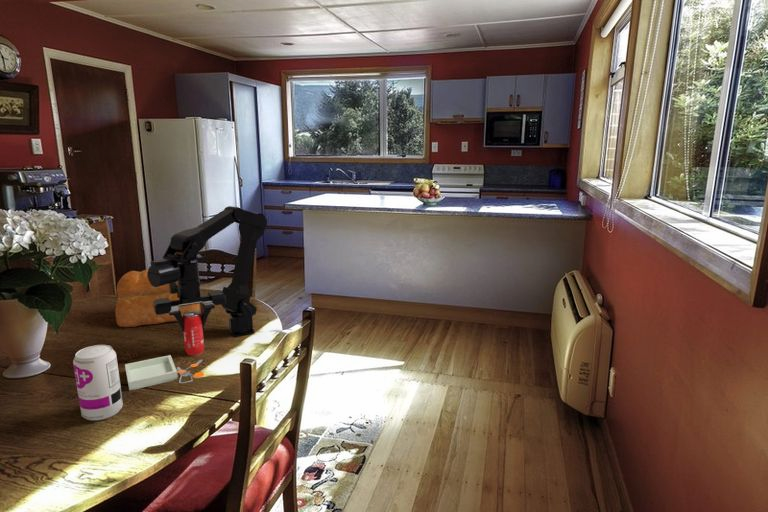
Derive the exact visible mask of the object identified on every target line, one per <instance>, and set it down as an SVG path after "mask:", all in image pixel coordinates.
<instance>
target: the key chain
mask: <svg viewBox="0 0 768 512" xmlns="http://www.w3.org/2000/svg"><path fill="white" fill-rule="evenodd" d="M202 362H203V359H199V360H198V361H197V362H196V363H192V364H190V365H189V367H187V368H186V369H182V368H181V367H180V366H177V367H176V370H177V375H178V374H179V375H180V377H179V378H178V383H179V384H188V383H191V382H193V378H194V379H198V378H199V379H200V378H202V377H204V376H205V373H204V372H201V371H200V372H195V373H194V374H193V373H190V372H191V371H190V370H188V369H190V368H195V367H198V366H199V364H200V363H202ZM182 377H183V378H186V377H190V380H188V381H182Z"/></svg>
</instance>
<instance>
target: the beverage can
mask: <svg viewBox="0 0 768 512" xmlns="http://www.w3.org/2000/svg"><path fill="white" fill-rule="evenodd" d="M182 320H183V324H184V332H183V331H182V333H183V341H184V344H183V345H184V351H185V352H186V355H188V356H199V355H201V354H202V353H203V352H204V349H205V342H204V341H205V339H204V331H203V329H204V328H202V317H201V311H200V312H199V311H188V312H185V313H184V314H183V316H182Z"/></svg>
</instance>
